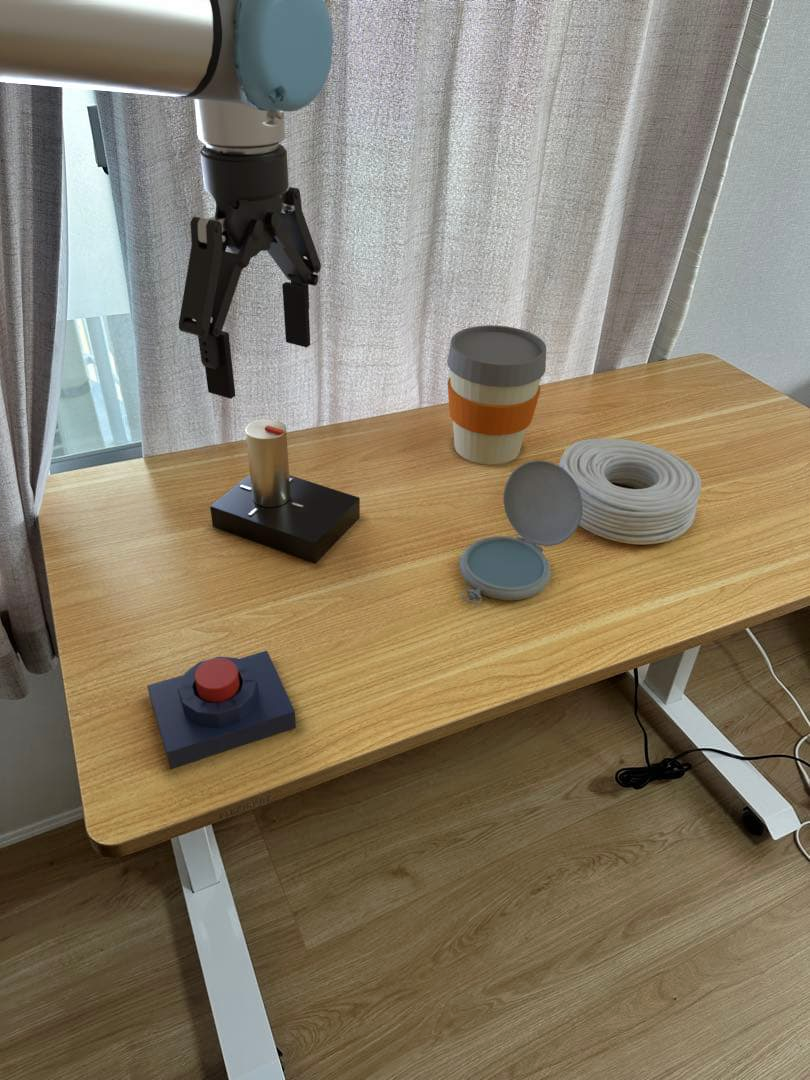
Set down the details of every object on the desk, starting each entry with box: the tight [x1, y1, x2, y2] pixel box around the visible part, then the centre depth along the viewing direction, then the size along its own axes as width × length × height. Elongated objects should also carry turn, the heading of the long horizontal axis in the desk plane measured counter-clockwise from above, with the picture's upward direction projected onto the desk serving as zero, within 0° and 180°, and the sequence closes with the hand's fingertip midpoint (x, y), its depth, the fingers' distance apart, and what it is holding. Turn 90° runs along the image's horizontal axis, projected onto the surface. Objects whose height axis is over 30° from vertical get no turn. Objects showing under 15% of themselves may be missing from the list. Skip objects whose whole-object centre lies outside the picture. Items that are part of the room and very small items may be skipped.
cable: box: [558, 437, 702, 545], centre depth 98 cm, size 18×18×6 cm
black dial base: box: [209, 474, 361, 565], centre depth 94 cm, size 14×10×3 cm
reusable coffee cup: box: [446, 324, 547, 466], centre depth 106 cm, size 13×13×15 cm
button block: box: [146, 650, 297, 770], centre depth 71 cm, size 11×8×4 cm
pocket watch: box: [458, 459, 583, 604], centre depth 86 cm, size 10×11×15 cm
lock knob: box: [245, 418, 290, 507], centre depth 91 cm, size 4×4×9 cm
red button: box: [195, 657, 240, 703], centre depth 69 cm, size 4×4×2 cm
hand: (262, 367), depth 84 cm, fingers open, 13 cm apart
